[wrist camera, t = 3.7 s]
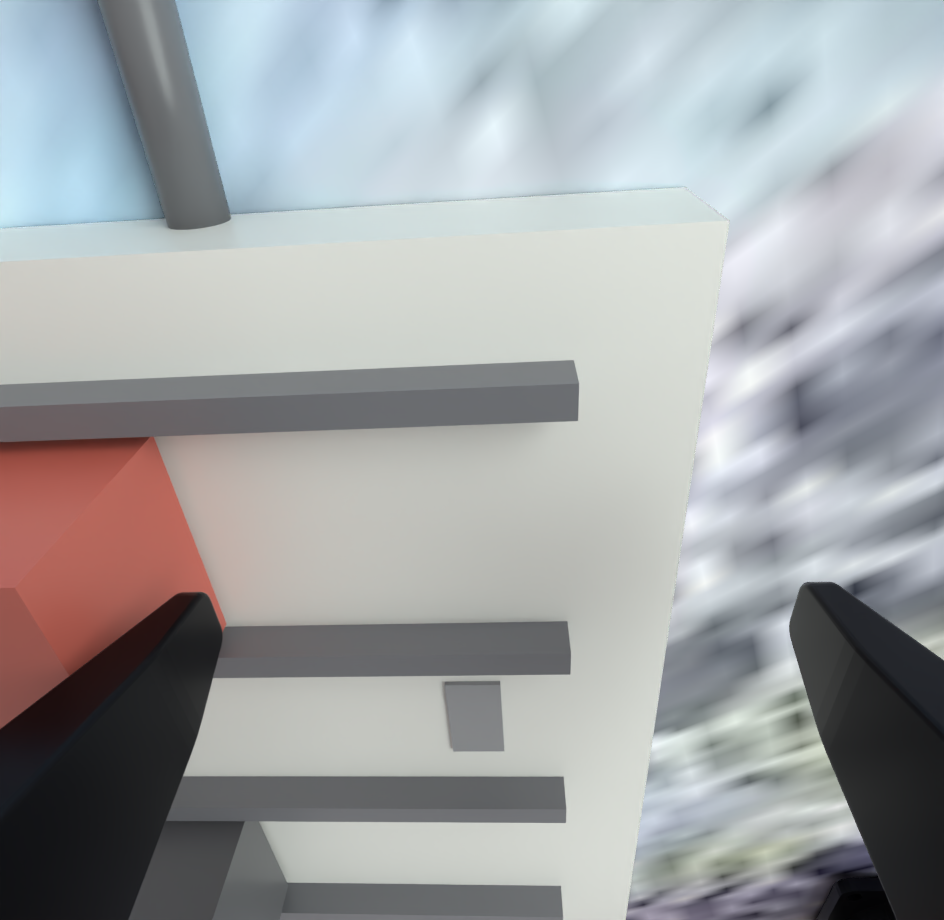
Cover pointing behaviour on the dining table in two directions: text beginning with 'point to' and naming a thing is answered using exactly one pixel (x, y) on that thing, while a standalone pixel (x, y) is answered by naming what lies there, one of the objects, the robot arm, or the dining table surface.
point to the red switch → (83, 555)
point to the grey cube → (212, 874)
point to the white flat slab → (396, 500)
